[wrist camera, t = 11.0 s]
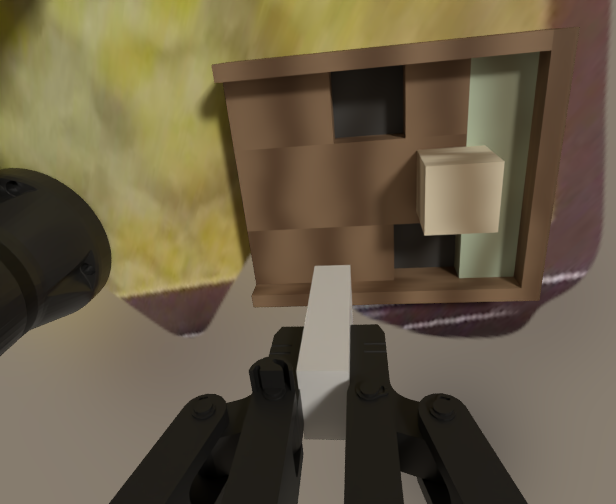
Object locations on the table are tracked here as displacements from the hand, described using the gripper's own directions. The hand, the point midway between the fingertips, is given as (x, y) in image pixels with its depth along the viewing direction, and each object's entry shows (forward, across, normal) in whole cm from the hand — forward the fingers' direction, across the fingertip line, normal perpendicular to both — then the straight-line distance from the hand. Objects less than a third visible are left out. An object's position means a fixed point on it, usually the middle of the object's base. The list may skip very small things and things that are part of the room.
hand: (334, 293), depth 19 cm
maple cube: (+18, +8, -1) cm, 20 cm away
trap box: (+21, +2, -1) cm, 21 cm away
